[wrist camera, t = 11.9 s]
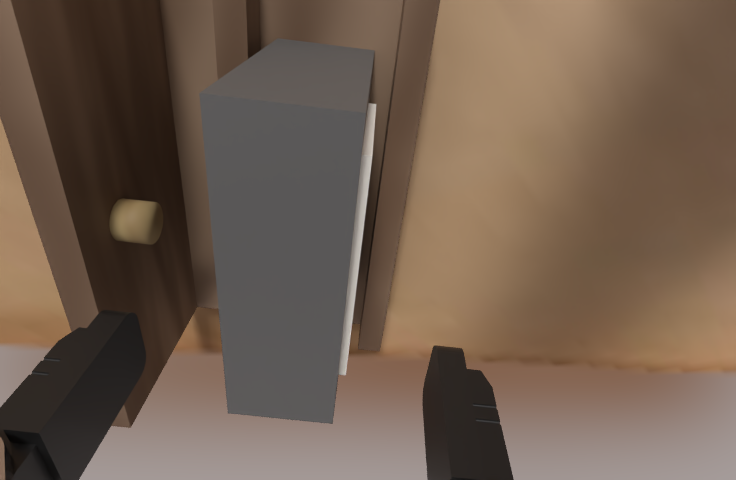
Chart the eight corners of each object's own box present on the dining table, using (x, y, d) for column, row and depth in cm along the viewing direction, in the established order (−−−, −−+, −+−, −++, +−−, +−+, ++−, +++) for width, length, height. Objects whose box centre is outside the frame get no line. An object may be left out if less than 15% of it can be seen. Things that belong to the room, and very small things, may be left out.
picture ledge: (435, -27, 18) (472, -17, 10) (380, 309, 28) (378, 452, 20) (138, -64, 18) (-67, -86, 10) (186, 288, 27) (102, 424, 19)
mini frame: (382, 51, 18) (378, 114, 11) (354, 281, 25) (340, 424, 17) (277, 38, 18) (199, 92, 11) (277, 273, 25) (228, 413, 17)
